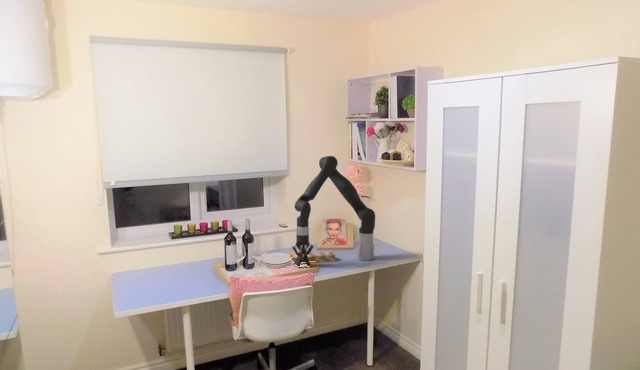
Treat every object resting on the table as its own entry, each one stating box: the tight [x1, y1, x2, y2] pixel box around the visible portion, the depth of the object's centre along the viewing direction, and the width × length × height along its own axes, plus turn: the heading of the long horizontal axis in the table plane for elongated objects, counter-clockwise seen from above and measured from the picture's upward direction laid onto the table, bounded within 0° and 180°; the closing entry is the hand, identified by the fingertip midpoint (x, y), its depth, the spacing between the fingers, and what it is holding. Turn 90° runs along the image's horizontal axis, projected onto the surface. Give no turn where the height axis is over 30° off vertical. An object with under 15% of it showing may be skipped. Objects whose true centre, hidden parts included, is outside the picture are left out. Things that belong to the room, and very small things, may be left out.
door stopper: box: [294, 247, 312, 266], centre depth 270 cm, size 9×6×12 cm, turn 106°
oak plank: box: [289, 251, 336, 263], centre depth 282 cm, size 28×8×4 cm, turn 106°
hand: (302, 261), depth 271 cm, fingers closed on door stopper, 1 cm apart
